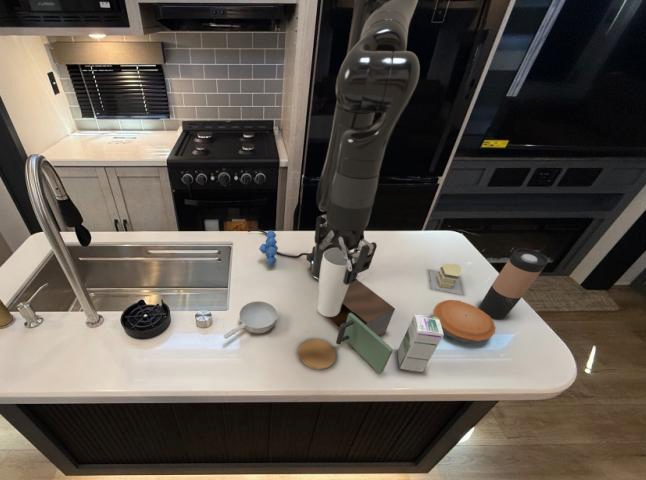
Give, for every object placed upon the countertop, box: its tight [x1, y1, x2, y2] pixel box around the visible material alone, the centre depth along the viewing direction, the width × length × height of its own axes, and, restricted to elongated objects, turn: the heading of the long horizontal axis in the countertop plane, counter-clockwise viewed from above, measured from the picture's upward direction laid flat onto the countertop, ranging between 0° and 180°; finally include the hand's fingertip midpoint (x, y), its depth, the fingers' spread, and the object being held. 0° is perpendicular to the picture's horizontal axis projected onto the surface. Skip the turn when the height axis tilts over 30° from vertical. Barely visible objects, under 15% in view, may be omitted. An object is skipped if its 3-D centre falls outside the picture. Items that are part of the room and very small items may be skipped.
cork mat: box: [298, 339, 337, 370], centre depth 83 cm, size 10×10×1 cm
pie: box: [432, 299, 496, 343], centre depth 88 cm, size 15×16×5 cm
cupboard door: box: [335, 313, 394, 375], centre depth 79 cm, size 14×5×9 cm, turn 30°
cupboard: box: [324, 278, 396, 338], centre depth 88 cm, size 16×10×10 cm, turn 30°
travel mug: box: [478, 248, 549, 320], centre depth 88 cm, size 8×8×20 cm
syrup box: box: [396, 313, 445, 373], centre depth 76 cm, size 6×6×14 cm
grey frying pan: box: [223, 300, 278, 339], centre depth 89 cm, size 11×18×4 cm, turn 134°
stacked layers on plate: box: [429, 263, 463, 295], centre depth 103 cm, size 10×9×6 cm
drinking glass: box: [316, 248, 355, 318], centre depth 68 cm, size 7×7×15 cm
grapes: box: [258, 229, 279, 268], centre depth 110 cm, size 12×7×12 cm, turn 2°
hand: (335, 273), depth 66 cm, fingers closed on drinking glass, 7 cm apart
